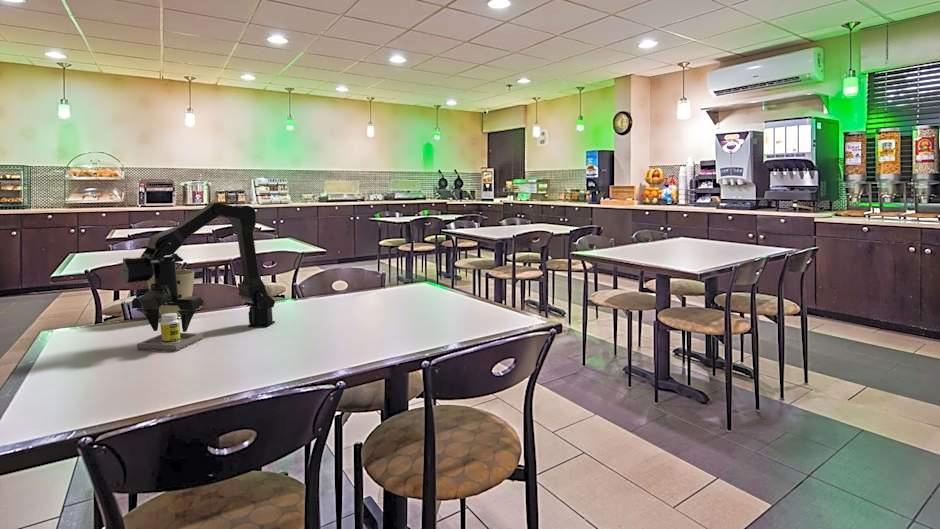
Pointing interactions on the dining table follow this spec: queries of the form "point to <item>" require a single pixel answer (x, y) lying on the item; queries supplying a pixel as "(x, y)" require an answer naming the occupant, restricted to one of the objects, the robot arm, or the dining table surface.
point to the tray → (157, 344)
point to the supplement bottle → (170, 328)
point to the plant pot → (183, 289)
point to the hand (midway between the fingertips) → (170, 331)
